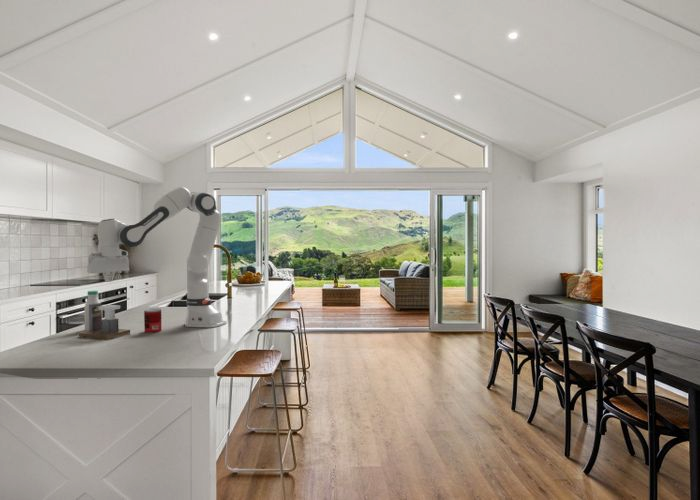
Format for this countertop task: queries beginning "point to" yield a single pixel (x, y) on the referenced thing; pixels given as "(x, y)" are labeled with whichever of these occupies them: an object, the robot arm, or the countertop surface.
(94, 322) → the stand
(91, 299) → the milk bottle
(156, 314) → the canned food
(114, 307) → the plunger
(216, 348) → the countertop surface
